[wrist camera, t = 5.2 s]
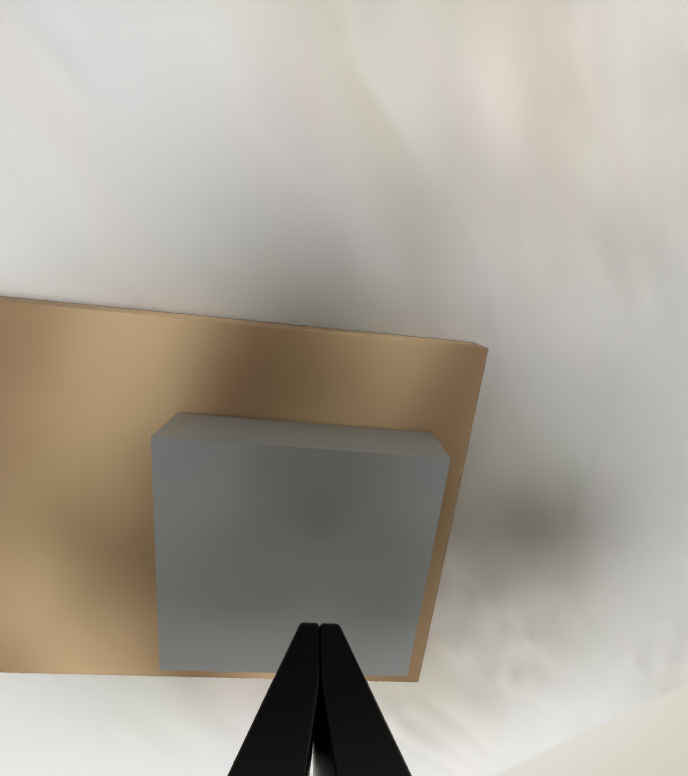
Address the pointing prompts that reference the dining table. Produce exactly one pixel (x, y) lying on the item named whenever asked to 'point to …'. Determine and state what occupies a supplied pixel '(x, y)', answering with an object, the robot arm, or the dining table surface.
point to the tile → (290, 539)
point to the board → (134, 461)
